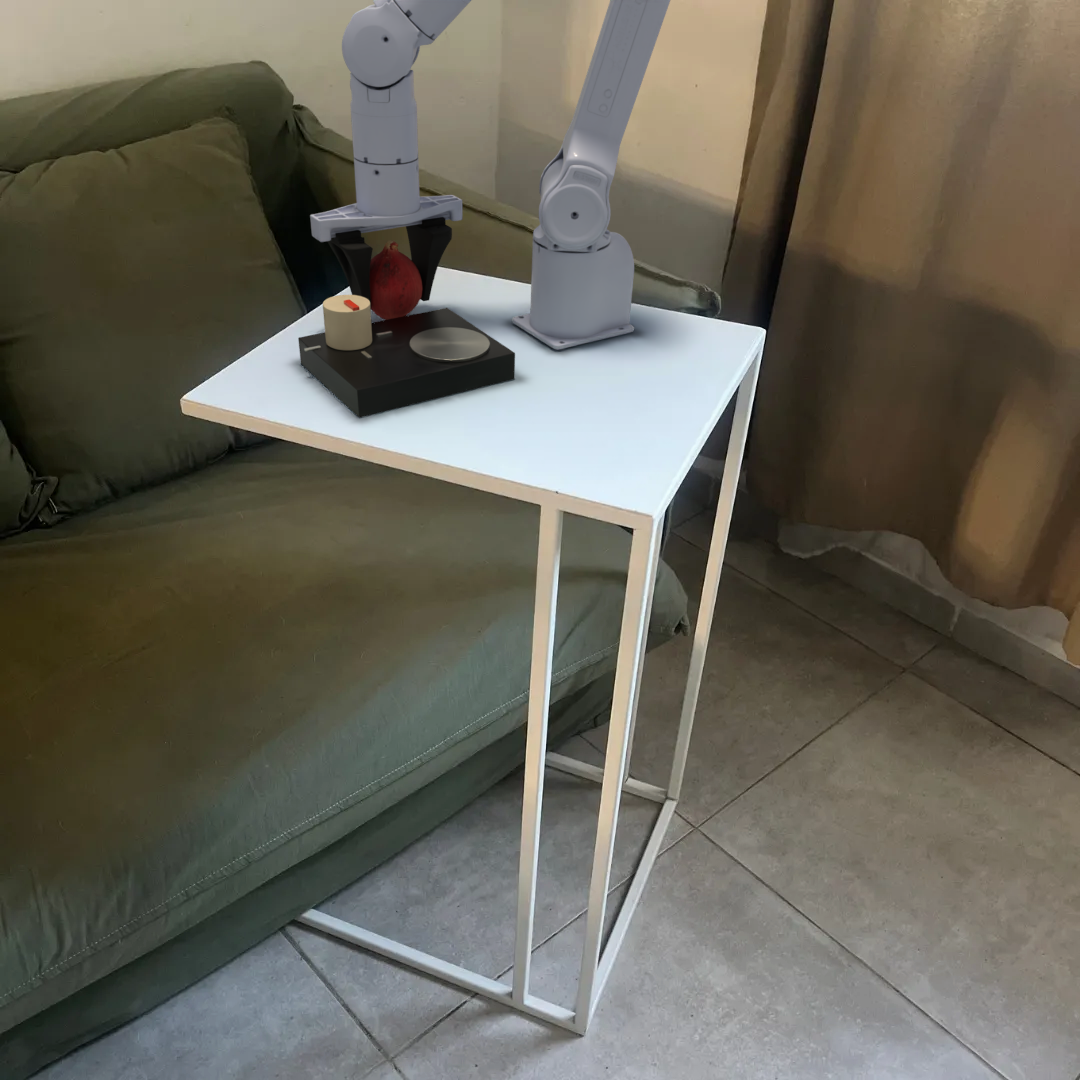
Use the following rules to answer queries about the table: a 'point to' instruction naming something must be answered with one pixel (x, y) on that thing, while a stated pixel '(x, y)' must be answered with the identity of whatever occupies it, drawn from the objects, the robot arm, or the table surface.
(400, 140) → the robot arm
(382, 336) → the hob
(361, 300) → the knob
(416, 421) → the table surface
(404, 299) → the onion
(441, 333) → the burner
